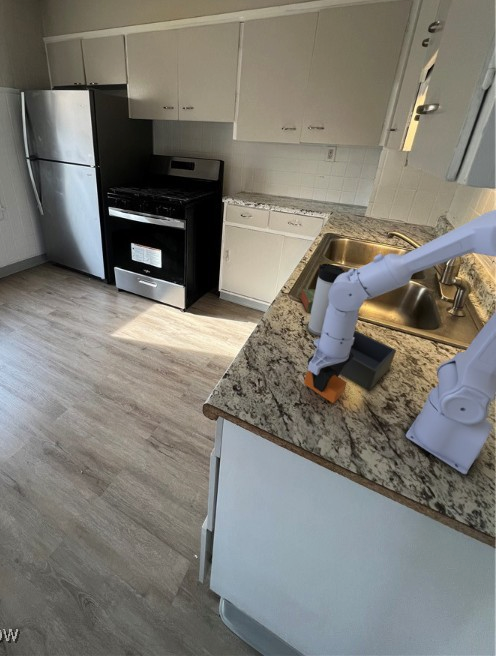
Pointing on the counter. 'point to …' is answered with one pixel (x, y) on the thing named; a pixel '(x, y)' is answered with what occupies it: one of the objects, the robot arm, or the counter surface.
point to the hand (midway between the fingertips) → (324, 383)
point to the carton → (308, 298)
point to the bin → (368, 361)
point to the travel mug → (322, 296)
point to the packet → (328, 387)
